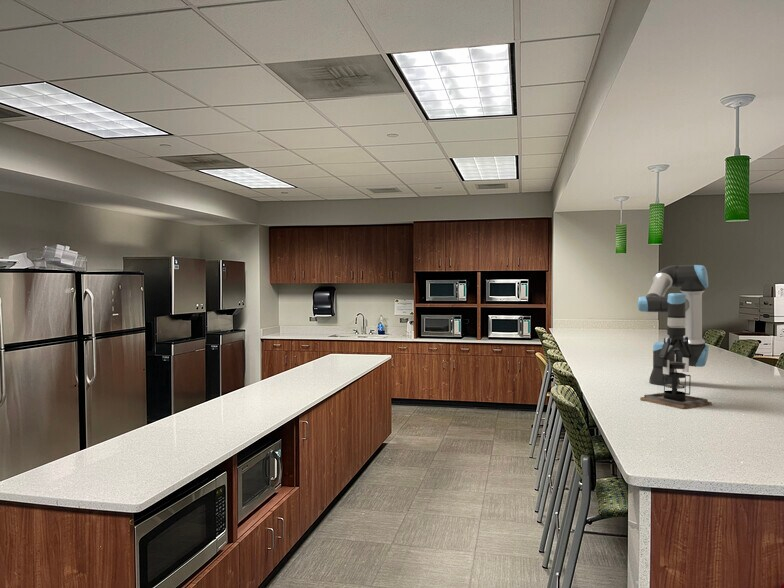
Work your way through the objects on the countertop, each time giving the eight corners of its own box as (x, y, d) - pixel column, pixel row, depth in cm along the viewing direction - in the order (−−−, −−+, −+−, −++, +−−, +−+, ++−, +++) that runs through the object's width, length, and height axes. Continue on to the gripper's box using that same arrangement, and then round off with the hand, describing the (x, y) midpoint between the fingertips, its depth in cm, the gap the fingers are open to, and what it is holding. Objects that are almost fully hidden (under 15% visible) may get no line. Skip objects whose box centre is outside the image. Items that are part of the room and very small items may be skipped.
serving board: (668, 396, 280) (668, 391, 280) (711, 404, 260) (712, 399, 260) (640, 400, 270) (640, 394, 270) (683, 409, 251) (683, 403, 251)
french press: (660, 400, 264) (661, 350, 264) (662, 396, 272) (663, 347, 272) (689, 402, 258) (690, 351, 258) (690, 399, 267) (691, 349, 266)
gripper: (686, 325, 274) (686, 369, 274) (650, 327, 262) (650, 373, 263) (701, 326, 267) (700, 371, 268) (665, 328, 256) (665, 376, 256)
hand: (675, 373), depth 265 cm, fingers open, 13 cm apart
